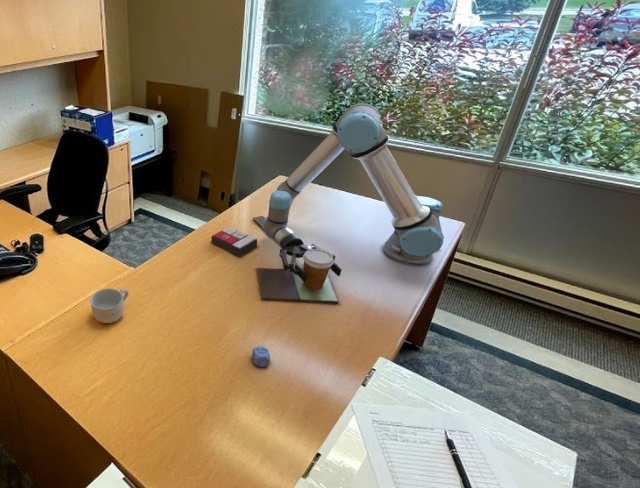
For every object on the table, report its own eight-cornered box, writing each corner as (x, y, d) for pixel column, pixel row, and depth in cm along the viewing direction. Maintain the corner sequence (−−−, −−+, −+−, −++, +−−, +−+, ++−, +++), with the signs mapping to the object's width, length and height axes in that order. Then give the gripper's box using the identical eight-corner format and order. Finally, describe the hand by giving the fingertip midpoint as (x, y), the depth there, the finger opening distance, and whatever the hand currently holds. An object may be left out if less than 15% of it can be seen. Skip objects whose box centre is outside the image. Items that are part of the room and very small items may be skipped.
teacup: (100, 332, 132) (98, 313, 128) (87, 312, 140) (84, 294, 136) (138, 316, 137) (137, 297, 133) (123, 298, 146) (122, 280, 142)
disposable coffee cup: (293, 277, 148) (298, 249, 142) (319, 274, 148) (325, 246, 142) (306, 294, 140) (311, 265, 134) (333, 291, 140) (340, 262, 134)
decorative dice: (251, 355, 120) (253, 345, 118) (266, 356, 120) (267, 346, 118) (254, 366, 117) (255, 356, 115) (268, 367, 116) (270, 357, 114)
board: (325, 273, 151) (325, 270, 150) (337, 304, 136) (338, 301, 136) (256, 270, 155) (257, 267, 154) (262, 299, 140) (262, 297, 140)
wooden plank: (252, 216, 187) (262, 214, 188) (252, 219, 187) (262, 216, 188) (272, 235, 173) (283, 233, 174) (272, 238, 174) (282, 235, 174)
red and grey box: (228, 225, 177) (257, 237, 166) (228, 234, 179) (257, 246, 168) (211, 234, 172) (239, 247, 160) (211, 243, 174) (239, 257, 162)
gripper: (316, 245, 160) (353, 278, 141) (258, 255, 157) (288, 290, 138) (319, 228, 156) (357, 260, 137) (260, 238, 153) (291, 272, 134)
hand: (322, 275), depth 138 cm, fingers open, 12 cm apart
